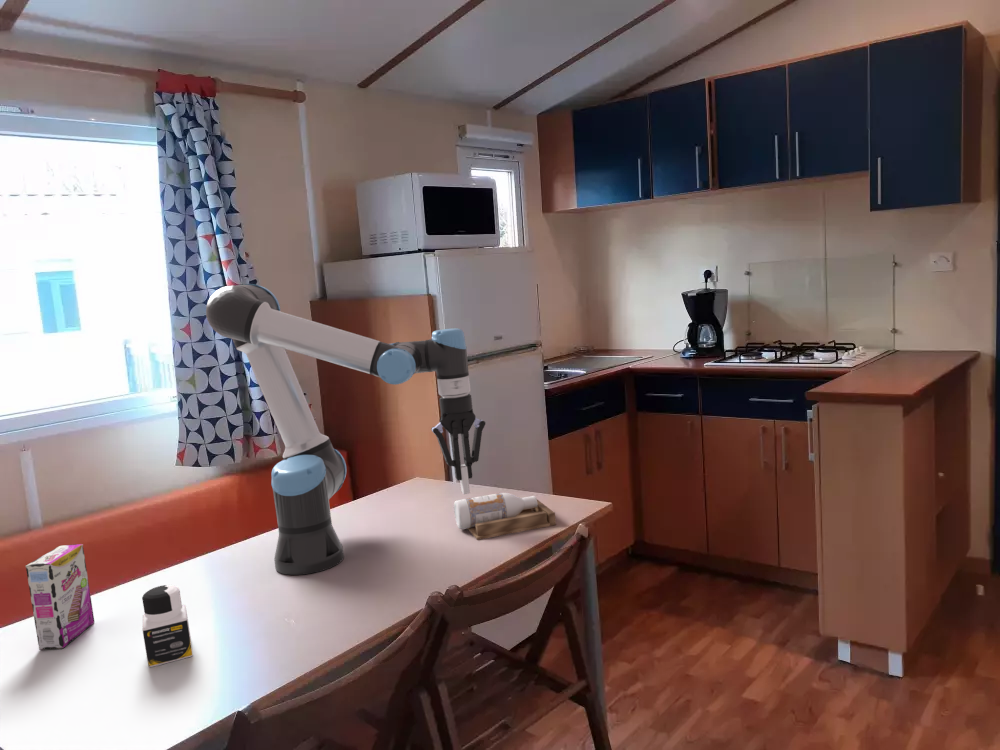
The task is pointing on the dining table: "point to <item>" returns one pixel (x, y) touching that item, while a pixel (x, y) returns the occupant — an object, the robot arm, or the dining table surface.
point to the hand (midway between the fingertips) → (465, 492)
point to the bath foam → (490, 508)
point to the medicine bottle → (165, 626)
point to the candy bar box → (60, 596)
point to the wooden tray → (516, 523)
